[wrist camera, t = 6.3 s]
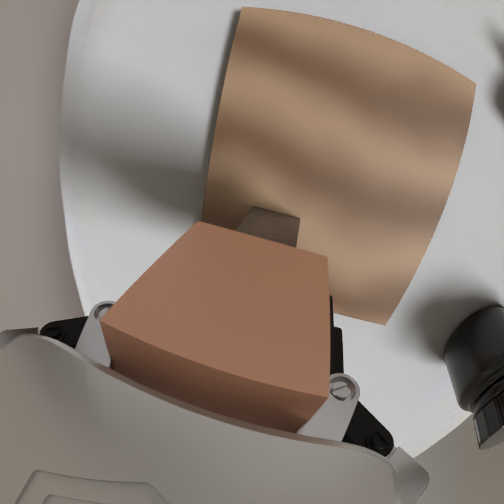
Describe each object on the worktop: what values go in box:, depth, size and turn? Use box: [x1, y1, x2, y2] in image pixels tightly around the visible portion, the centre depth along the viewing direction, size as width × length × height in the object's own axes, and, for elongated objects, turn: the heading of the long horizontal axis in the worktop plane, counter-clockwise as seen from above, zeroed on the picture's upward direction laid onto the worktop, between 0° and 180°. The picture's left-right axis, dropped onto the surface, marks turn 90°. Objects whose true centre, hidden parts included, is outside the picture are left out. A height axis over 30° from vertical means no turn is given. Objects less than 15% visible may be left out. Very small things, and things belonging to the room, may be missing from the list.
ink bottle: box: [444, 307, 504, 450], centre depth 14 cm, size 10×9×12 cm
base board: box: [201, 7, 476, 325], centre depth 16 cm, size 20×16×1 cm
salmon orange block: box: [99, 221, 330, 433], centre depth 10 cm, size 6×6×7 cm
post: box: [235, 206, 301, 248], centre depth 16 cm, size 3×3×5 cm
